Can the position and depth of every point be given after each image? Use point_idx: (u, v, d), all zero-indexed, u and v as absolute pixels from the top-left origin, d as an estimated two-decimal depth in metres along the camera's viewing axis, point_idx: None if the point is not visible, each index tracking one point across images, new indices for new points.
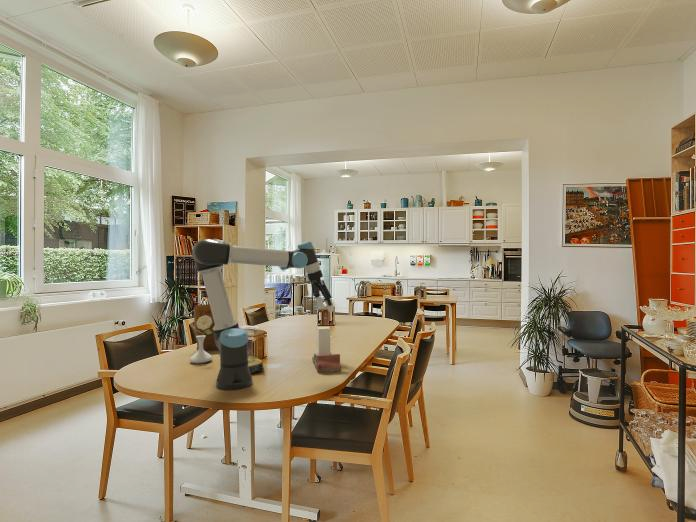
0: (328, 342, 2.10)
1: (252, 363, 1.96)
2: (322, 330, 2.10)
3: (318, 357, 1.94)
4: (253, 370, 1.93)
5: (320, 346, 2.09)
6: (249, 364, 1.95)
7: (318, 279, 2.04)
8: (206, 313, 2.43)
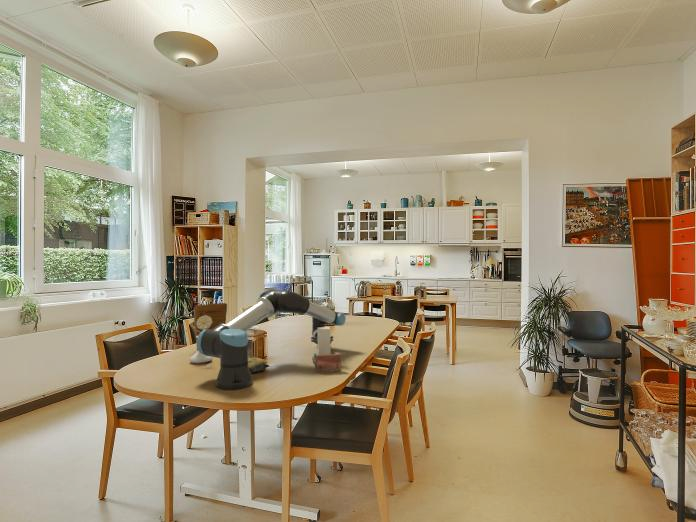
0: (328, 342, 2.10)
1: (256, 362, 1.97)
2: (322, 330, 2.09)
3: (318, 357, 1.94)
4: (259, 369, 1.95)
5: (320, 346, 2.09)
6: (254, 363, 1.96)
7: None
8: (206, 313, 2.43)
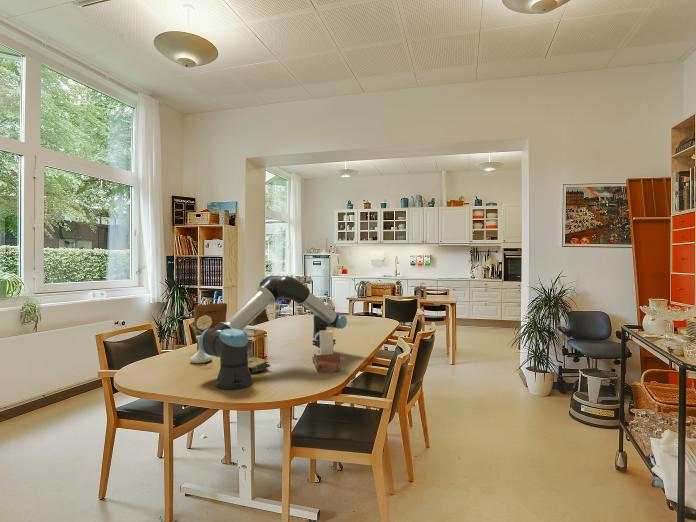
0: (331, 346, 2.00)
1: (258, 362, 1.98)
2: (325, 334, 2.00)
3: (318, 357, 1.94)
4: (261, 368, 1.95)
5: (322, 350, 2.00)
6: (255, 363, 1.97)
7: None
8: (206, 313, 2.43)
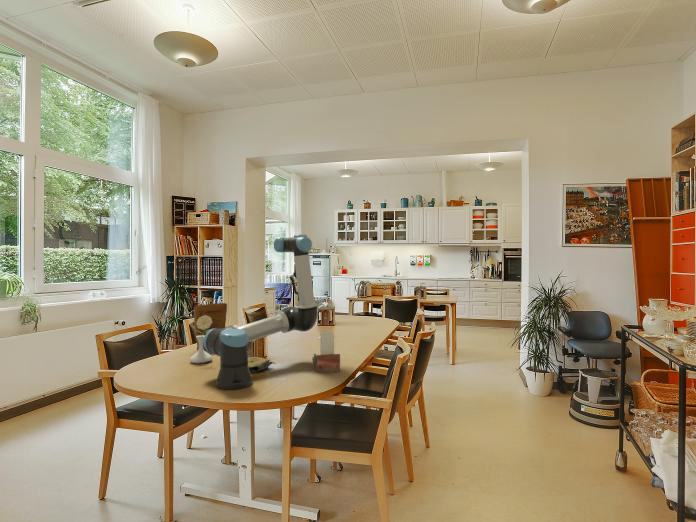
0: (332, 347, 1.98)
1: (261, 360, 2.01)
2: (325, 335, 1.97)
3: (318, 357, 1.94)
4: (266, 366, 1.99)
5: (323, 352, 1.97)
6: (259, 362, 1.99)
7: None
8: (206, 313, 2.43)
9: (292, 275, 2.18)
